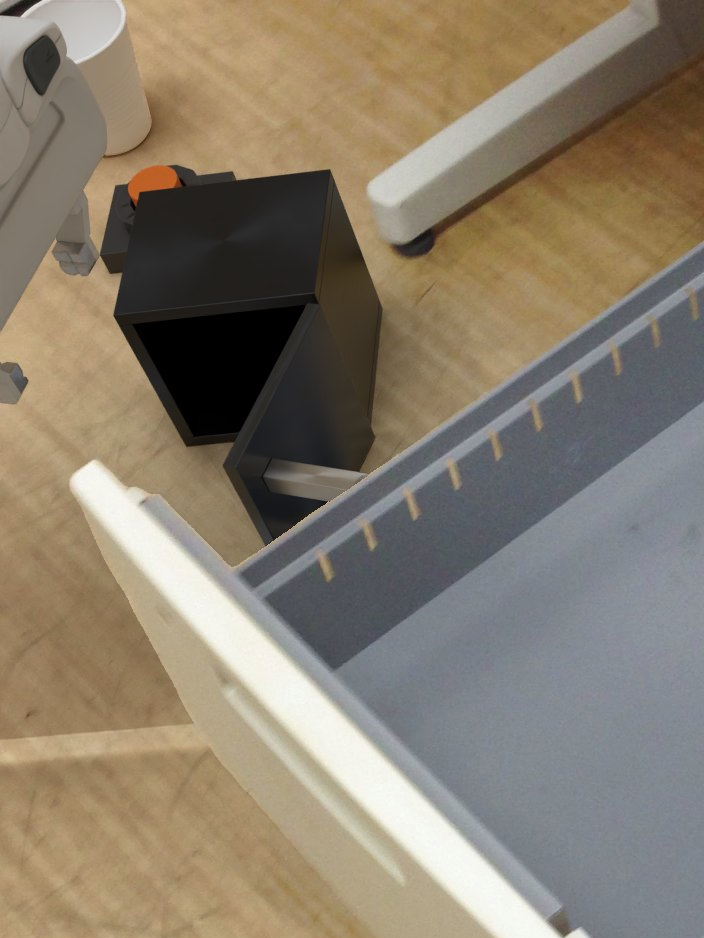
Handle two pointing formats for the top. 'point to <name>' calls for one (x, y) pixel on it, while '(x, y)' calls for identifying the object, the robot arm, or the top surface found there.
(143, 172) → the release button
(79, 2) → the cup
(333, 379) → the cupboard door
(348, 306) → the cupboard
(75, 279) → the top surface
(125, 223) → the release block
